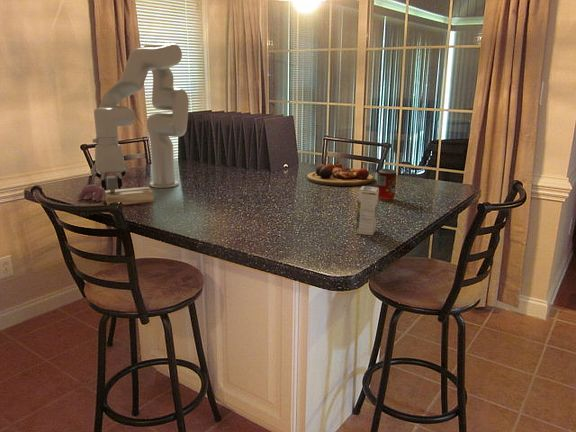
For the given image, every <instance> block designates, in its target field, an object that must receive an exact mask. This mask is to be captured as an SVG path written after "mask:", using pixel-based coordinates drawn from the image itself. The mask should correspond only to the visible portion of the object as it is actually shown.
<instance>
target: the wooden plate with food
mask: <svg viewBox="0 0 576 432" xmlns="http://www.w3.org/2000/svg"><path fill="white" fill-rule="evenodd" d="M306 179H307V180H308V182H310V183H314V184H317V185H325V186H336V187H346V186H347V187H350V186H362V185H363V186H364V185H367V184H370V183H372V182H373V181H374V180H375V179H374V176H373V175H372V174H371V173H370V172H369V171H368V169H367V168H356V169H353V168H350V167H348V166H344V167H343V164H342V163H340V162H338V161H336V162H335V163H331V162H330V163H327V164H323V163H320V164H319V165H318V166H317V167H316V168H315V171H312V172H310V173H308V174H307V176H306Z"/></svg>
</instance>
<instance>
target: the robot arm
mask: <svg viewBox="0 0 576 432" xmlns="http://www.w3.org/2000/svg"><path fill="white" fill-rule="evenodd" d="M182 57H183V51H182V49H181V47H180V46H179V45H178V44H177V43H173V42H171V43H169V42H165V43H163V42H162V43H161V42H157V43H148V44H145V45H144V46H143V47H137V48H134V49H133V50H131V52H130V54H129V56H128V59H127V61H126V64H125V66H124V69H123V72H122V75H121V77H120V79H119V80H118V81H117V82H115V83H114V84H113V85H112V86H111V87H110V88H109V89H108V90H107V91H106V92H105V93H104V95H103V97H101V98H102V99H101V102H100V103H99V107H97V108H94V111H93V116H94V124H95V125H94V126H95V127H94V128H95V134H96V135H95V136H96V137H95V138H92V144H93V143H95V144H96V145H95V146H94V147H95V148H94V161H95V163H94V164H93V166H92V167H91V169H90V170H89V171H90V173H91V174H93V175H94V176H96V177H97V178H99V180H100V182H101V184H100V185H101V187H102V188H104V190H107V180H106V179H105V174H106V173H116V174H117V177H116V183H117V189H122V187H123V181H122V180H123V178H124V176H126V174H128V172H130V171H131V168H130V167H129V165H128V164H127V163H125V159H124V151H123V148H122V145H121V144H119V135H118V127H128V126H131V125H133V124H134V123H135V121H136V118H137V117H136V112H135V111H134V109H132V108H131V107H129V106H126V105H119V103H120V102H121V101H123V100H124V99H125V98H128V97H130V96H132V95H134V94H136V93H139V92H140V91H141V90H142V89H143V88H144V83H145V82H146V80H147V79H146V78H147V76H148V73H149V71H151V73H152V93H151V94H152V96H151V104H152V106H153V108H154V109H155V110H159V111H168V112H169V111H171V113H162V112H161V113H160V112H159V113H156V112H155V113H152V114H150V115H149V116H148V117H147V119H146V128H147V132H148V136H149V137H148V138H149V142H150V143H149V144H150V153H151V167H152V170H151V171H152V181H150V182H149V187H150V188H151V187H152V188H155V189H167V188H169V189H170V188H174V187H178V186H179V181H178V180H176V173H175V155H174V154H175V153H174V144H173V141H172V140H171V137H174V138H175V137H177V138H178V137H179V138H180V137H183V136H184V135H185V134H186V133H187V128H188V120H189V108H190V107H189V106H190V105H189V103H190V101H189V97H188V93H187V92H186V90H184V89H183V88H179V87H174V75H173V72H172V69H171V67H174V66H177V65H178V64H179V63H180V62H181V60H182Z"/></svg>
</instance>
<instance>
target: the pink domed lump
mask: <svg viewBox="0 0 576 432" xmlns="http://www.w3.org/2000/svg"><path fill="white" fill-rule="evenodd" d="M86 196H87V199H90V200H91V199H93V198H94V199H95V201H96V202H97V203H98V202H101V200H103V198H104V196H105V190H104V188H102V185H98V184H88V185H87V184H85V186H83V188H82V190H80V192H79V194H78V200H79V201H82V200H83V199H85V198H86Z"/></svg>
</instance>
